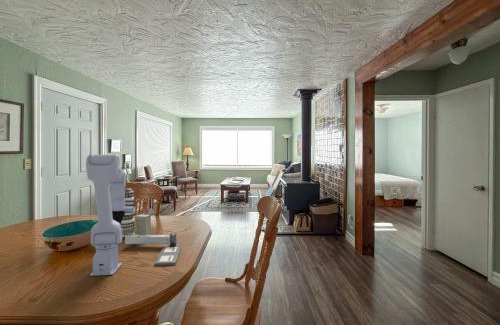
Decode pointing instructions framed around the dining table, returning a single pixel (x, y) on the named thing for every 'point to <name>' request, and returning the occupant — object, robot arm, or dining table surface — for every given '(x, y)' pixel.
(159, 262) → the label board
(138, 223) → the skincare box
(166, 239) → the swing arm
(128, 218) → the decorative candle
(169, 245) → the grey joystick
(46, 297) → the dining table surface
